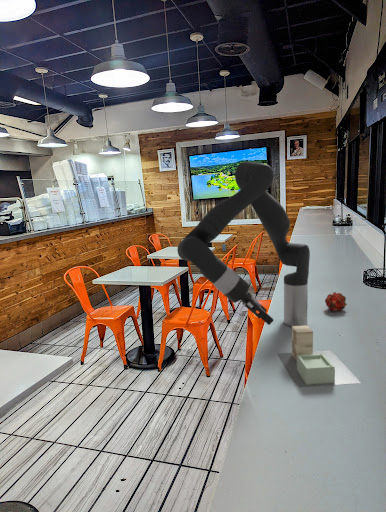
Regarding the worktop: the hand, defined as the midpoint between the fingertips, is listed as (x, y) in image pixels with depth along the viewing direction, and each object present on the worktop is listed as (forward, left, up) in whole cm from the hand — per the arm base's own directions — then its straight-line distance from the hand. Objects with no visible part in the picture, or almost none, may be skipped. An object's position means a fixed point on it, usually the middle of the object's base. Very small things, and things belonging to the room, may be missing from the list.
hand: (267, 317), depth 107 cm
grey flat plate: (+6, +13, -16) cm, 21 cm away
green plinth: (+11, +11, -15) cm, 21 cm away
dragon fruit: (-43, +41, -16) cm, 61 cm away
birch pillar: (0, +11, -15) cm, 18 cm away
